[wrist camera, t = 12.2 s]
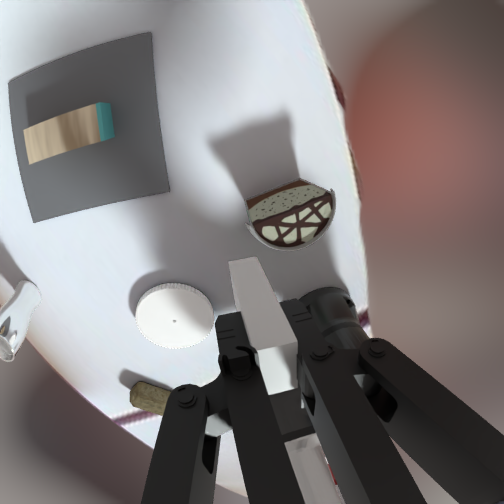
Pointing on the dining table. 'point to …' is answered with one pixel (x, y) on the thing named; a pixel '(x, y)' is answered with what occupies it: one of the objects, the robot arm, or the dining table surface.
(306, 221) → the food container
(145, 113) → the mat
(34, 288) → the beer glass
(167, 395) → the stone block
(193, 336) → the plastic lid
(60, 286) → the dining table surface
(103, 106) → the maple block
